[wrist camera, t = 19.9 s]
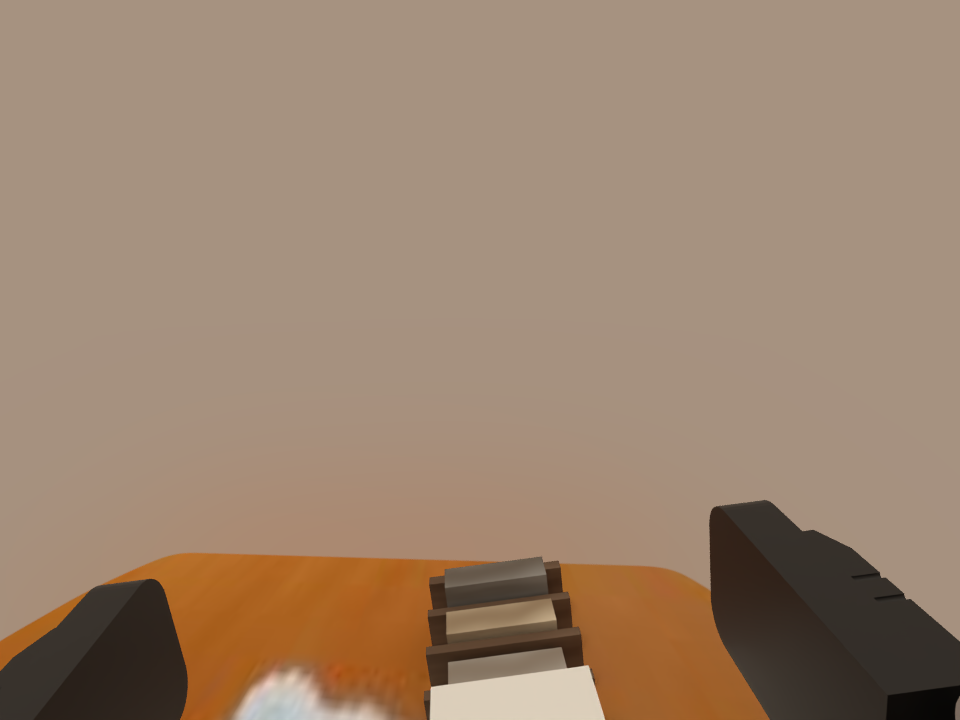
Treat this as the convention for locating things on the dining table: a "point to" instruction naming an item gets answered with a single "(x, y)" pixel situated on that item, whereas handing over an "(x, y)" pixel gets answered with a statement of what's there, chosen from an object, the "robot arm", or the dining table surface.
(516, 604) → the offcut mid
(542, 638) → the rack
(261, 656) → the dining table surface
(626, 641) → the dining table surface
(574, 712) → the beige tall block
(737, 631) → the robot arm
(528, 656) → the offcut short
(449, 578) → the offcut tall
